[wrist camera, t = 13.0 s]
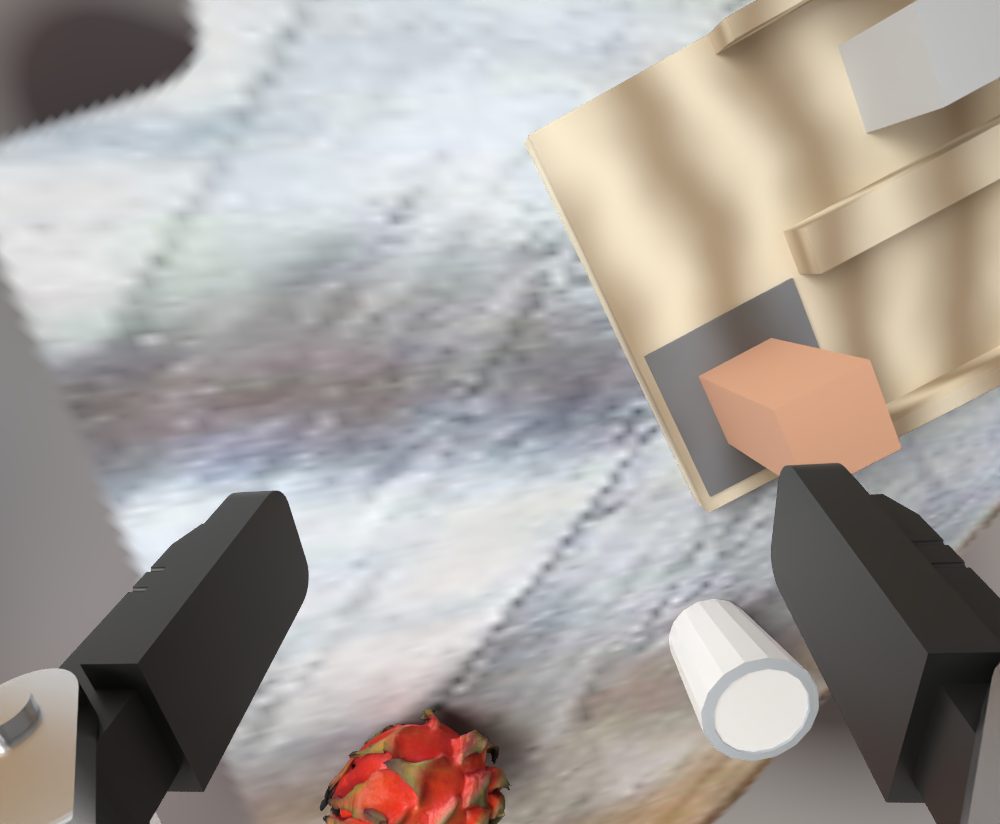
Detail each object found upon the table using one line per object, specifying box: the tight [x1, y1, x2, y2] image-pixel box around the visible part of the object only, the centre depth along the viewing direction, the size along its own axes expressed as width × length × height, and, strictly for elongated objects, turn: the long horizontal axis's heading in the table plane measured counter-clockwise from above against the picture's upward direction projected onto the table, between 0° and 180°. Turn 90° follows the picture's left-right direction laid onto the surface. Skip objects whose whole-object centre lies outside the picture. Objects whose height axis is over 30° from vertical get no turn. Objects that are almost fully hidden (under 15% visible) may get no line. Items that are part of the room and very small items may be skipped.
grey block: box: [838, 0, 1000, 133], centre depth 27 cm, size 4×4×5 cm
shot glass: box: [669, 599, 819, 761], centre depth 36 cm, size 7×7×7 cm
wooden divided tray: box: [525, 0, 1000, 513], centre depth 31 cm, size 24×24×5 cm
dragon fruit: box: [320, 709, 511, 824], centre depth 36 cm, size 8×8×12 cm
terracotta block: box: [699, 338, 902, 476], centre depth 29 cm, size 4×4×8 cm
